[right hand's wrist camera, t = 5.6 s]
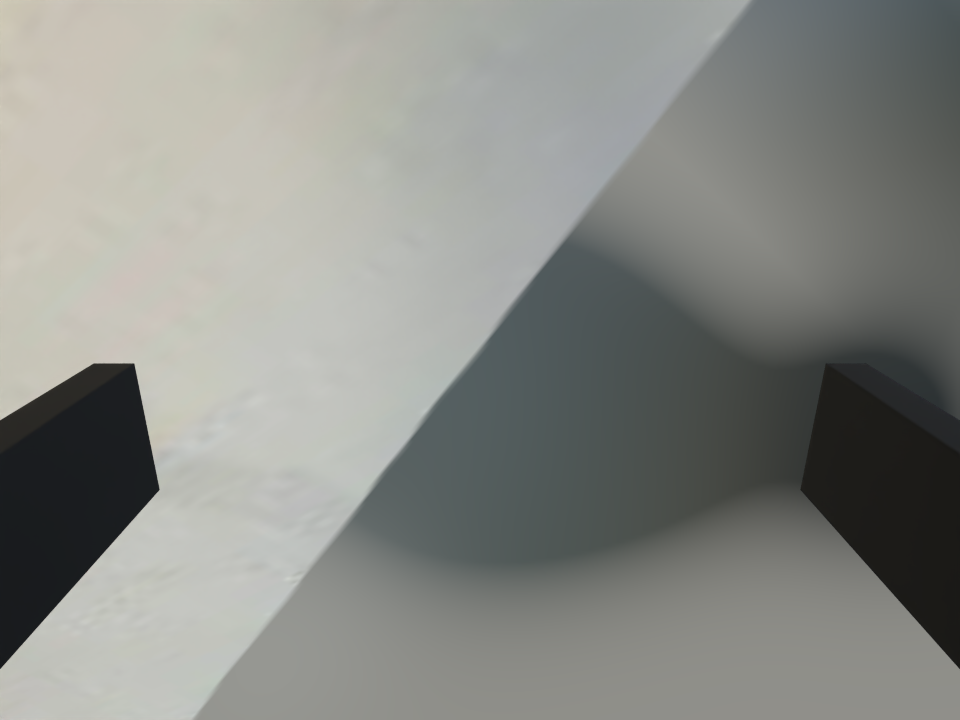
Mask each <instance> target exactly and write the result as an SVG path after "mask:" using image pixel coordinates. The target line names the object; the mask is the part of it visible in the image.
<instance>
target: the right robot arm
mask: <svg viewBox="0 0 960 720" xmlns="http://www.w3.org/2000/svg"><path fill="white" fill-rule="evenodd" d="M158 491H159V485H158V480H157V475H156V470H155V465H154V460H153V455H152V450H151V445H150V440H149V435H148V430H147V425H146V420H145V415H144V410H143V405H142V400H141V395H140V390H139V385H138V380H137V375H136V370H135V365H134V364H92V365H91V366H89V367H87V368H86V369H84V370H82V371H81V372H79V373H77V374H76V375H74V376H73V377H71V378H69V379H68V380H66V381H64V382H63V383H61V384H59V385H58V386H56V387H54V388H53V389H51V390H49V391H48V392H46V393H45V394H43V395H41V396H40V397H38V398H36V399H35V400H33V401H31V402H30V403H28V404H26V405H25V406H23V407H21V408H20V409H18V410H17V411H15V412H13V413H12V414H10V415H8V416H7V417H5V418H3V419H2V420H0V669H1V668H2V666H3V665H4V664H5V663H6V662H7V661H8V660H9V659H10V657H11V656H12V655H13V654H14V653H15V652H16V651H17V650H18V648H19V647H20V646H21V645H22V644H23V643H24V642H25V641H26V639H27V638H28V637H29V636H30V635H31V634H32V633H33V632H34V630H35V629H36V628H37V627H38V626H39V625H40V624H41V623H42V621H43V620H44V619H45V618H46V617H47V616H48V615H49V614H50V612H51V611H52V610H53V609H54V608H55V607H56V606H57V605H58V603H59V602H60V601H61V600H62V599H63V598H64V597H65V596H66V594H67V593H68V592H69V591H70V590H71V589H72V588H73V587H74V585H75V584H76V583H77V582H78V581H79V580H80V579H81V578H82V576H83V575H84V574H85V573H86V572H87V571H88V570H89V569H90V567H91V566H92V565H93V564H94V563H95V562H96V561H97V560H98V558H99V557H100V556H101V555H102V554H103V553H104V552H105V551H106V549H107V548H108V547H109V546H110V545H111V544H112V543H113V542H114V540H115V539H116V538H117V537H118V536H119V535H120V534H121V533H122V531H123V530H124V529H125V528H126V527H127V526H128V525H129V524H130V522H131V521H132V520H133V519H134V518H135V517H136V516H137V515H138V513H139V512H140V511H141V510H142V509H143V508H144V507H145V506H146V504H147V503H148V502H149V501H150V500H151V499H152V498H153V497H154V495H155V494H156V493H157V492H158ZM801 491H802V492H803V493H804V494H805V495H806V497H807V498H808V499H809V500H810V501H811V502H812V503H813V504H814V505H815V507H816V508H817V509H818V510H819V511H820V512H821V513H822V514H823V516H824V517H825V518H826V519H827V520H828V521H829V522H830V524H831V525H832V526H833V527H834V528H835V529H836V530H837V531H838V533H839V534H840V535H841V536H842V537H843V538H844V539H845V540H846V542H847V543H848V544H849V545H850V546H851V547H852V548H853V549H854V550H855V552H856V553H857V554H858V555H859V556H860V557H861V558H862V560H863V561H864V562H865V563H866V564H867V565H868V566H869V567H870V569H871V570H872V571H873V572H874V573H875V574H876V575H877V576H878V578H879V579H880V580H881V581H882V582H883V583H884V584H885V585H886V587H887V588H888V589H889V590H890V591H891V592H892V593H893V594H894V596H895V597H896V598H897V599H898V600H899V601H900V602H901V603H902V605H903V606H904V607H905V608H906V609H907V610H908V611H909V612H910V614H911V615H912V616H913V617H914V618H915V619H916V620H917V621H918V623H919V624H920V625H921V626H922V627H923V628H924V629H925V630H926V632H927V633H928V634H929V635H930V636H931V637H932V638H933V639H934V641H935V642H936V643H937V644H938V645H939V646H940V647H941V648H942V650H943V651H944V652H945V653H946V654H947V655H948V656H949V657H950V659H951V660H952V661H953V662H954V663H955V664H956V665H957V666H958V668H959V669H960V420H958V419H957V418H955V417H953V416H952V415H950V414H948V413H947V412H945V411H943V410H942V409H940V408H939V407H937V406H935V405H934V404H932V403H930V402H929V401H927V400H925V399H924V398H922V397H920V396H919V395H917V394H915V393H914V392H912V391H910V390H909V389H907V388H906V387H904V386H902V385H901V384H899V383H897V382H896V381H894V380H892V379H891V378H889V377H887V376H886V375H884V374H882V373H881V372H879V371H878V370H876V369H874V368H873V367H871V366H869V365H868V364H826V365H825V370H824V375H823V380H822V385H821V390H820V395H819V400H818V405H817V410H816V415H815V420H814V425H813V430H812V435H811V440H810V445H809V450H808V455H807V460H806V465H805V470H804V475H803V480H802V485H801Z"/></svg>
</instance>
